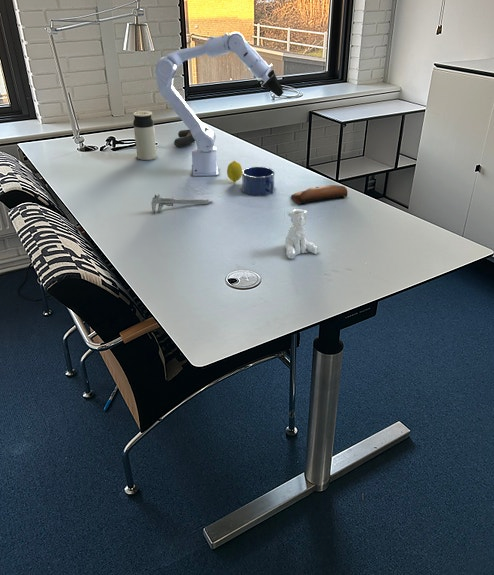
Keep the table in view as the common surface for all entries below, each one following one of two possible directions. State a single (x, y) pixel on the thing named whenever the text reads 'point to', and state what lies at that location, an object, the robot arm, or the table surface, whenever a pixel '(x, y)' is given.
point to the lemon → (234, 171)
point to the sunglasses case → (319, 193)
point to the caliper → (174, 202)
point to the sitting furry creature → (298, 235)
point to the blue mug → (258, 180)
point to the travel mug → (144, 135)
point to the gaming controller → (184, 138)
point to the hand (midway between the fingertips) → (281, 92)
